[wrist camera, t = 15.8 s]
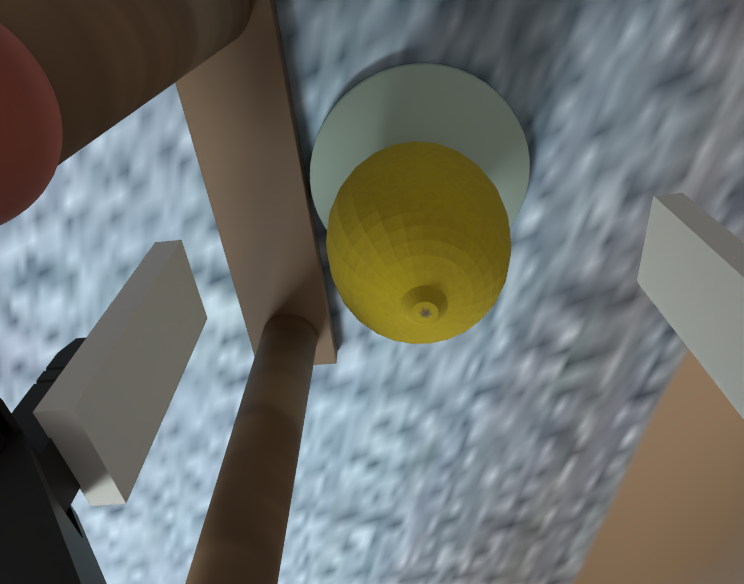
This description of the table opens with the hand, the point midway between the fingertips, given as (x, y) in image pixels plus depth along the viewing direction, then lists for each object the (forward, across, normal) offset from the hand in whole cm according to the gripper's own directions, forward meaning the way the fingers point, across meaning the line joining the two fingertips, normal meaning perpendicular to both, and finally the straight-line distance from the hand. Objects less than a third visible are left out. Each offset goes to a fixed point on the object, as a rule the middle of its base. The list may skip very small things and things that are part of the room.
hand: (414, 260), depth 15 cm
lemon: (+5, 0, 0) cm, 6 cm away
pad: (+6, 0, 0) cm, 6 cm away
